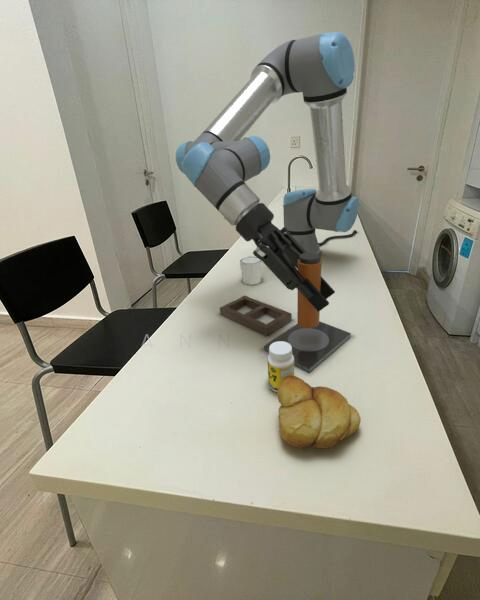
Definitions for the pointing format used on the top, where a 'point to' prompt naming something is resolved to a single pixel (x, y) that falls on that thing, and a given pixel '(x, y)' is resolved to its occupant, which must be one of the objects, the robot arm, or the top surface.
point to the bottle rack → (256, 315)
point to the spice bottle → (312, 271)
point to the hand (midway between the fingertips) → (326, 301)
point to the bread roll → (314, 414)
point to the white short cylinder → (251, 270)
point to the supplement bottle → (279, 363)
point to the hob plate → (312, 343)
